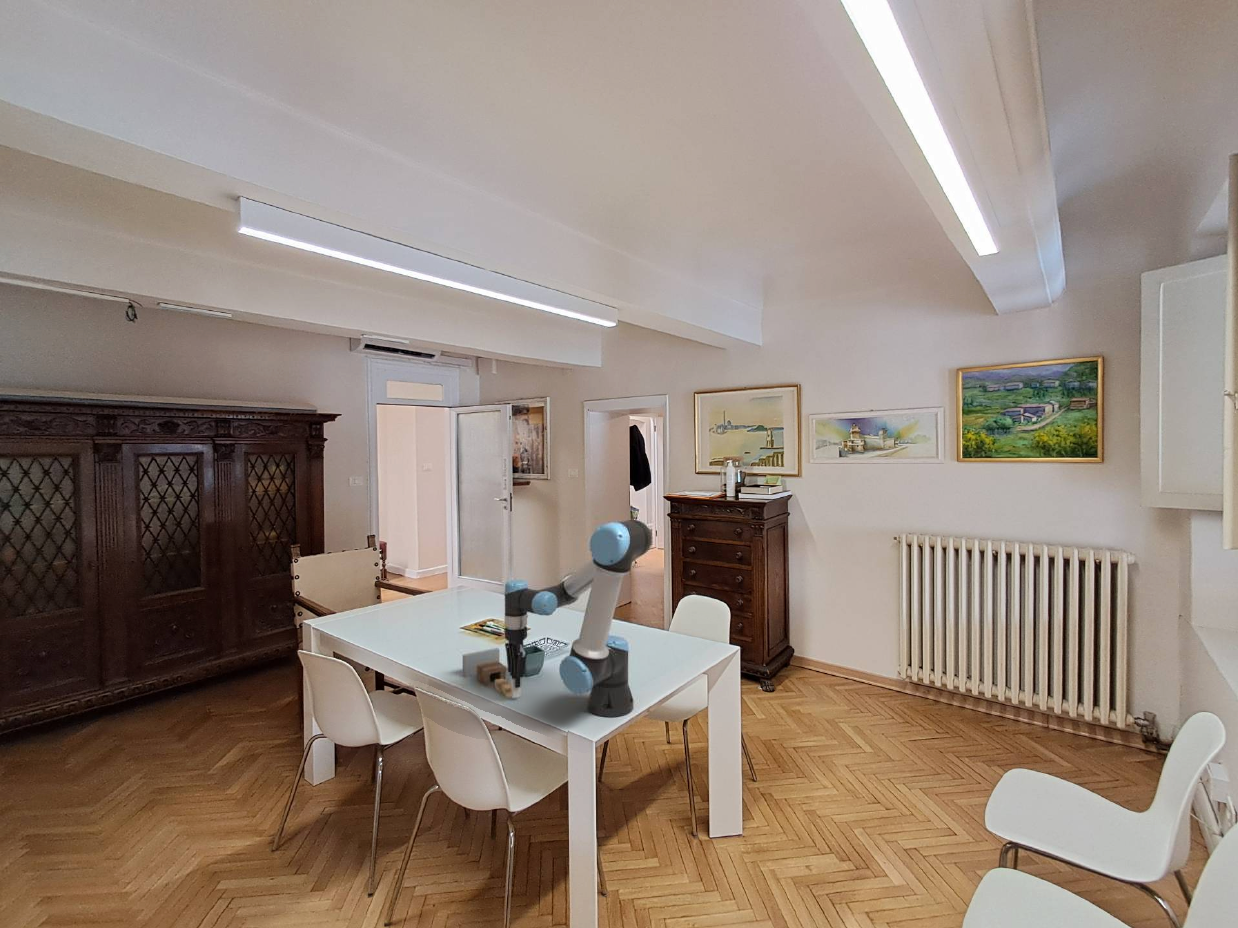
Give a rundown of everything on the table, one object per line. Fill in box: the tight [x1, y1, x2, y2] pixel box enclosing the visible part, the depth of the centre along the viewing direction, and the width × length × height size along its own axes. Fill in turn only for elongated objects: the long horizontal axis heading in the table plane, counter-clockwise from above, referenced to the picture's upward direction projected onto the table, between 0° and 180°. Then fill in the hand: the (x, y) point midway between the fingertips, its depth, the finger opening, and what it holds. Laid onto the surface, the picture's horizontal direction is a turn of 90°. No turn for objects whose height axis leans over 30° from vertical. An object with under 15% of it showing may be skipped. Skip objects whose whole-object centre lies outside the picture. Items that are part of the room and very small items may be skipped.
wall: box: [462, 647, 500, 678], centre depth 219 cm, size 2×14×8 cm, turn 125°
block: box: [476, 660, 507, 687], centre depth 211 cm, size 8×8×6 cm
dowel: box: [494, 678, 512, 698], centre depth 201 cm, size 10×3×3 cm, turn 36°
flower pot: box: [524, 645, 546, 677], centre depth 218 cm, size 9×9×9 cm
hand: (515, 695), depth 194 cm, fingers closed
